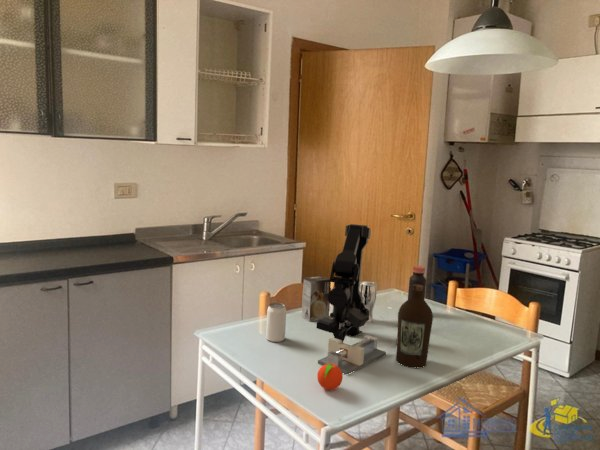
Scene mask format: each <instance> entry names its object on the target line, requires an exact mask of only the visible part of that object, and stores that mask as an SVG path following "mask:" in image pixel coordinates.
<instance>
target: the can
mask: <svg viewBox="0 0 600 450" xmlns="http://www.w3.org/2000/svg"><path fill="white" fill-rule="evenodd" d="M286 321H287V308H286V305H285V304H284V303H281V302H272V303H269V304H268V307H267V310H266V330H265V331H266V333H265V334H266V335H265V336H266V337H265V338H266V340H267V341H268V342H271V343H281V342H283V341H284V340H285V337H286V324H287V322H286Z"/></svg>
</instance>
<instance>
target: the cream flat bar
mask: <svg viewBox="0 0 600 450" xmlns="http://www.w3.org/2000/svg"><path fill="white" fill-rule="evenodd" d="M327 346H328V347H327V353H328V352H330V351H333V352H339V351H341V350H342V349H347V350H348V353H347V356H344V357H342V359H343V360H345V361H348V362H351V363H353V364H356V365H359V366H360V365H362V364H363V360H364V348H362V347H360V346H357V345H353V344H352V346H351V345H350V344H348V343H345V342H344V341H343V342H342V340H339V339H336V338H334V336H332V337H329V338H328V343H327Z"/></svg>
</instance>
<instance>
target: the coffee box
mask: <svg viewBox="0 0 600 450" xmlns="http://www.w3.org/2000/svg"><path fill="white" fill-rule="evenodd" d="M302 281H303V283H302V299H301V300H302V301H301V318H304V320H306V321H308V322H314V321H316V322H317V321H318V320H319V319H322V318H325V317H327V318H330V305H331V304H330V302H329V300H328V294H329V292H330V291H331V288H332V287H331V284H332V282H330V277H327V276H323V275H320V276H319V275H318V276H307V277H303V280H302Z"/></svg>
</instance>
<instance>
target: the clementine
mask: <svg viewBox="0 0 600 450" xmlns="http://www.w3.org/2000/svg"><path fill="white" fill-rule="evenodd" d="M316 375H317V376H316V377H317V381H318V384H319V385H320V386H321V387H322V388H323V389H325V390H327V391H333V390H336V389H337V388H339V387H340V386H341V384H342V382H343V373H342V372H341V370H340V368H339V367H338V366H336V365H335V364H331V363H328V364H325V365H321V367H319V369H318V371H317V374H316Z"/></svg>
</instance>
